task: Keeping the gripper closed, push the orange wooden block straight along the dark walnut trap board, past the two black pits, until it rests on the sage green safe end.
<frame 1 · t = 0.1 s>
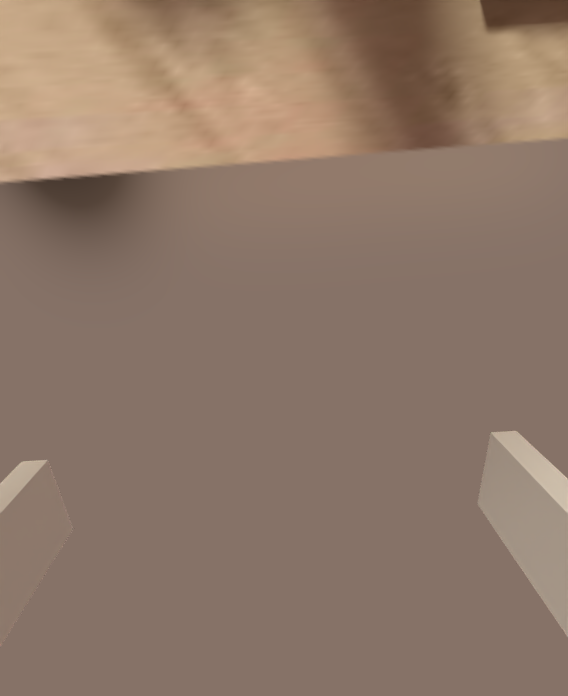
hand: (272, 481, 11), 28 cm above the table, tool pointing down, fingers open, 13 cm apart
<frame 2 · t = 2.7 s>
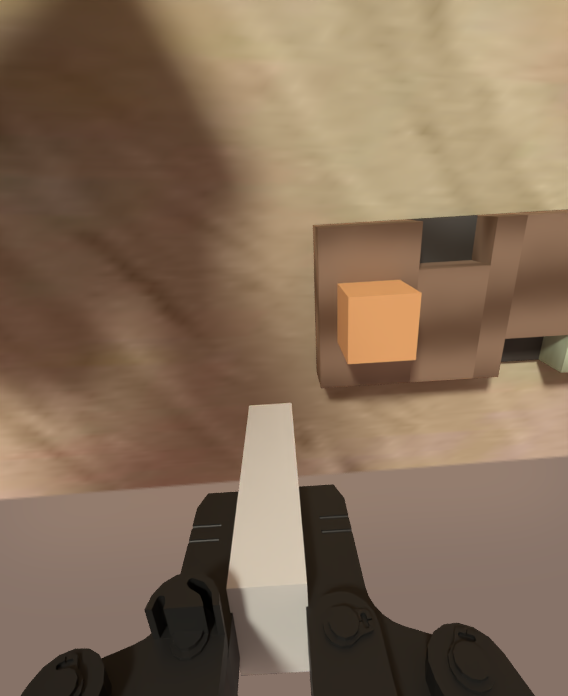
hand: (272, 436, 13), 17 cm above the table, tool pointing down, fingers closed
trap board: (476, 293, 29), on the table
block: (367, 311, 26), point 3 cm above the table, touching trap board
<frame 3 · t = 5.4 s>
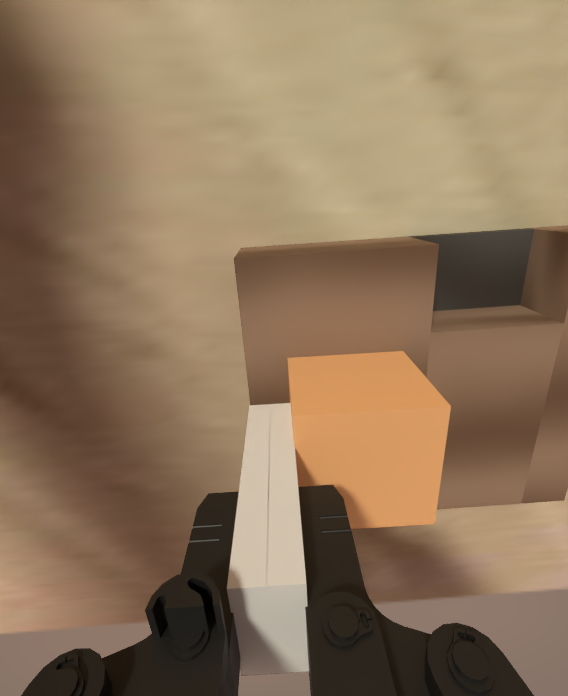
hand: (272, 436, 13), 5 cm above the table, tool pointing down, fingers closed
trap board: (524, 358, 17), on the table
block: (344, 404, 15), point 3 cm above the table, touching gripper
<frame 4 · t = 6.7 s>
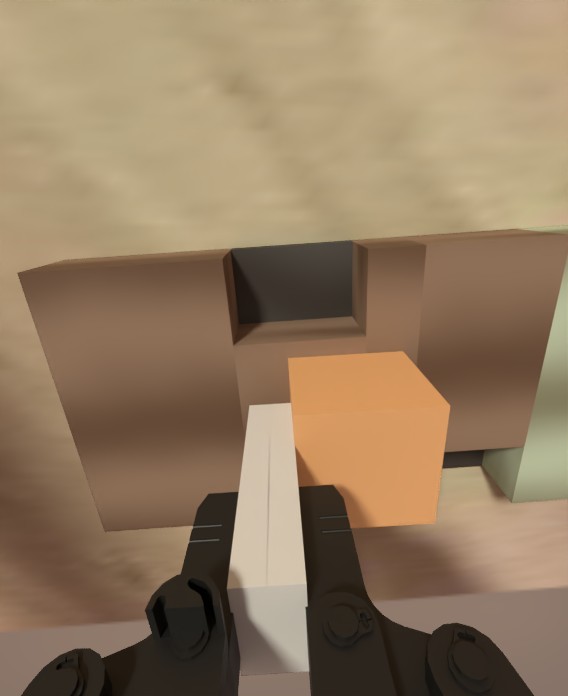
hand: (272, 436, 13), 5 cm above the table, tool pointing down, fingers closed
trap board: (370, 368, 17), on the table
block: (344, 404, 15), point 3 cm above the table
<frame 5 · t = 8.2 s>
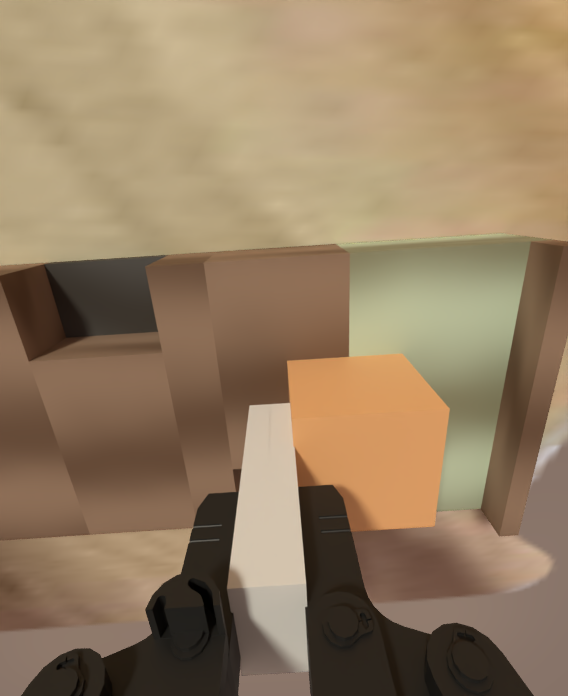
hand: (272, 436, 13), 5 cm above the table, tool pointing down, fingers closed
trap board: (211, 381, 17), on the table
block: (344, 407, 15), point 3 cm above the table, touching gripper
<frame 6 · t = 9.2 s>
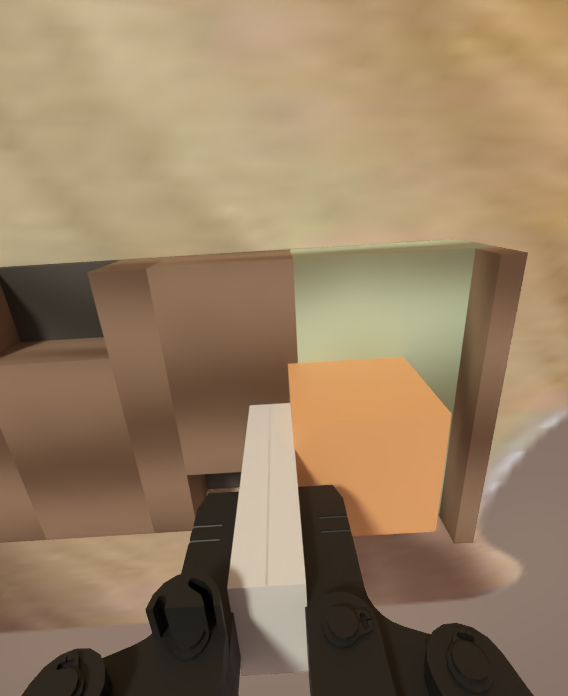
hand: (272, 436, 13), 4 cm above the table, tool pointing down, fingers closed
trap board: (170, 386, 17), on the table
block: (345, 410, 14), point 3 cm above the table, touching gripper, trap board
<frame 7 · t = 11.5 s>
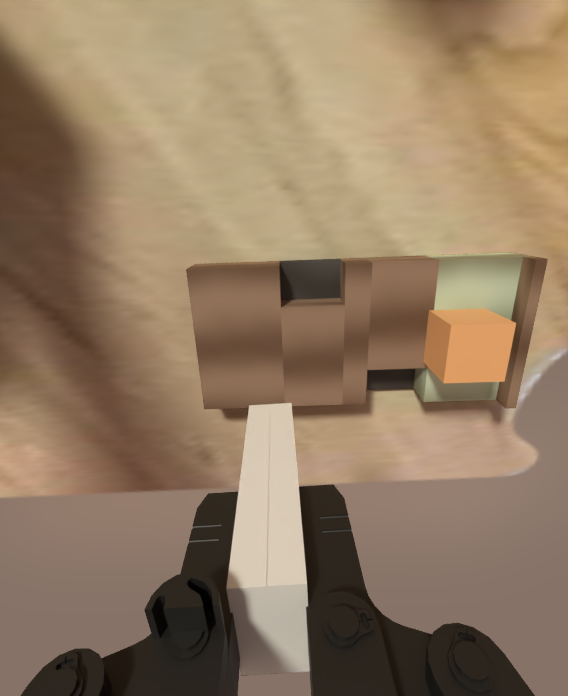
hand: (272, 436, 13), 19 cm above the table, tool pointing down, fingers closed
trap board: (350, 327, 32), on the table
block: (453, 336, 29), point 3 cm above the table, touching trap board
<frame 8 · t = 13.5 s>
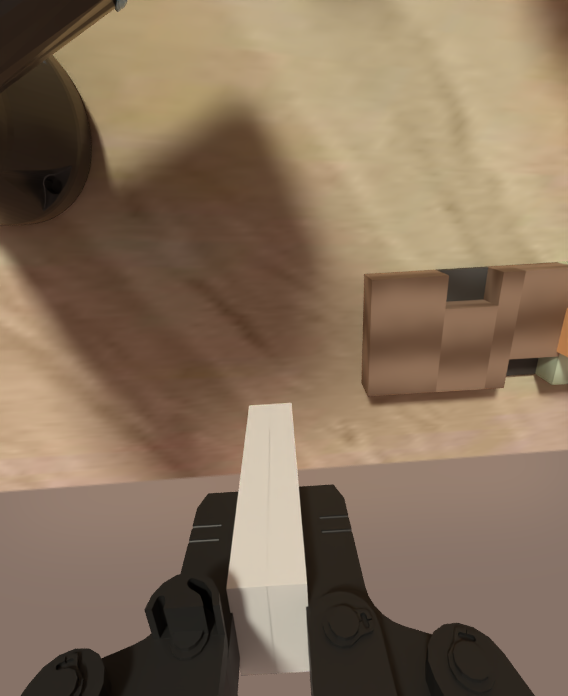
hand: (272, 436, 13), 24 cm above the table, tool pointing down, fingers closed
trap board: (486, 324, 38), on the table
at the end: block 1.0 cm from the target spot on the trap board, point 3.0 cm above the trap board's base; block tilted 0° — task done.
